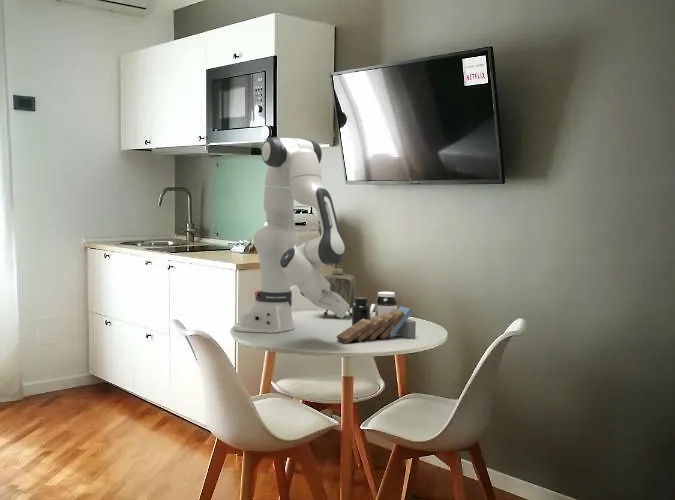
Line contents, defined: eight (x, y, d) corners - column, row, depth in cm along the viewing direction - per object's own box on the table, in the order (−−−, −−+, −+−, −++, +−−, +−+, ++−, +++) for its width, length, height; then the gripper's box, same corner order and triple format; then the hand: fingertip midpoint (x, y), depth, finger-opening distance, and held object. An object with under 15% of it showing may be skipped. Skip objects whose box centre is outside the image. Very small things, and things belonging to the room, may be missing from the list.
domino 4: (381, 336, 236) (402, 311, 240) (371, 333, 241) (392, 308, 245) (383, 340, 237) (405, 314, 240) (374, 336, 242) (395, 312, 246)
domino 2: (357, 338, 231) (383, 318, 236) (348, 335, 237) (374, 315, 241) (359, 342, 232) (385, 322, 237) (351, 339, 237) (376, 319, 242)
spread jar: (399, 323, 269) (399, 294, 269) (372, 324, 266) (373, 295, 265) (388, 318, 281) (389, 290, 280) (362, 319, 278) (363, 290, 277)
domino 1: (345, 339, 229) (372, 321, 234) (336, 336, 234) (363, 318, 239) (347, 343, 229) (374, 325, 234) (338, 340, 235) (365, 322, 240)
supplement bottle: (372, 328, 257) (373, 297, 256) (365, 332, 250) (366, 299, 250) (355, 327, 259) (356, 296, 259) (348, 330, 253) (349, 298, 252)
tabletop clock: (355, 316, 284) (357, 256, 282) (353, 320, 275) (354, 258, 273) (321, 314, 286) (322, 255, 284) (318, 318, 277) (319, 257, 275)
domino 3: (369, 337, 234) (393, 315, 238) (360, 334, 239) (384, 312, 243) (372, 341, 234) (395, 318, 239) (363, 337, 240) (386, 316, 244)
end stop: (408, 338, 239) (408, 322, 239) (392, 333, 248) (392, 317, 248) (415, 338, 241) (415, 321, 240) (399, 333, 250) (399, 316, 249)
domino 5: (389, 333, 238) (410, 308, 241) (380, 330, 243) (400, 306, 246) (392, 337, 238) (412, 312, 242) (382, 334, 244) (403, 309, 247)
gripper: (337, 285, 218) (363, 313, 223) (309, 278, 235) (333, 304, 241) (325, 300, 216) (351, 328, 221) (297, 292, 234) (322, 318, 239)
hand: (341, 315), depth 231 cm, fingers closed
